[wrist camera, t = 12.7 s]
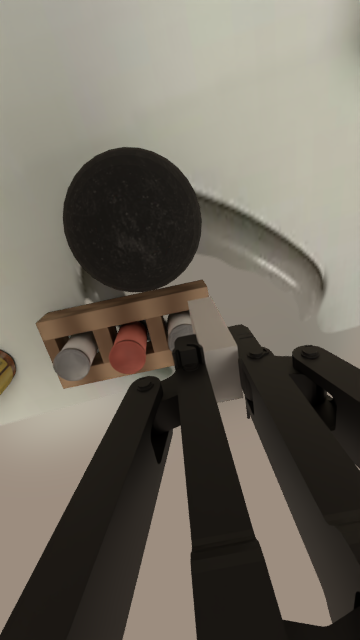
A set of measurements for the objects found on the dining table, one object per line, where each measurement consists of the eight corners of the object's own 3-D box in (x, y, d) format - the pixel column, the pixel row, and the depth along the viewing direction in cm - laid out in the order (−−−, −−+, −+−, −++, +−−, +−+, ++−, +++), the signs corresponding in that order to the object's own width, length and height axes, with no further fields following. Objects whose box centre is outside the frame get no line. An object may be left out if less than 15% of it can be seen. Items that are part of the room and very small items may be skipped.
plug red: (122, 350, 39) (114, 377, 33) (113, 323, 38) (104, 346, 31) (151, 344, 39) (149, 370, 33) (144, 316, 38) (140, 338, 31)
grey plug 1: (76, 356, 41) (60, 384, 34) (66, 330, 39) (47, 354, 32) (104, 350, 40) (94, 377, 34) (95, 324, 39) (82, 346, 32)
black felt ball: (185, 279, 38) (199, 316, 24) (87, 268, 37) (42, 302, 23) (199, 172, 34) (226, 143, 20) (87, 156, 32) (32, 112, 18)
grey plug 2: (170, 336, 40) (172, 360, 34) (163, 310, 39) (164, 329, 32) (198, 330, 40) (205, 353, 34) (193, 303, 39) (200, 322, 32)
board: (71, 373, 42) (63, 388, 39) (47, 312, 39) (35, 323, 35) (213, 343, 42) (218, 355, 38) (202, 279, 38) (207, 286, 35)
